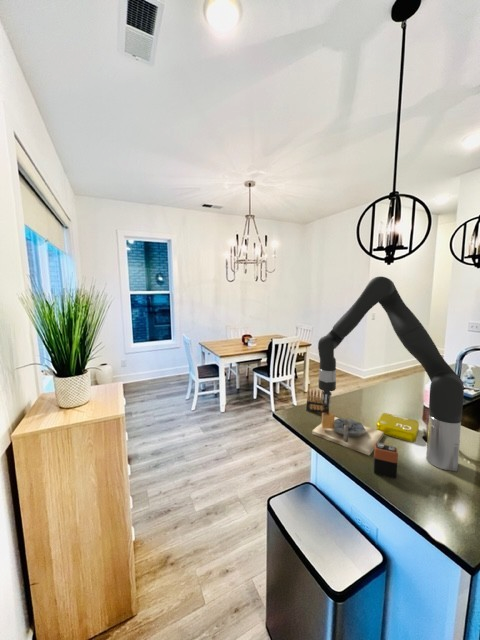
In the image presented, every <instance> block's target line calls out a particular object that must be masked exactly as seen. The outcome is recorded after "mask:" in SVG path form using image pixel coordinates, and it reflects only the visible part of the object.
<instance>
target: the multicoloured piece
mask: <svg viewBox="0 0 480 640" xmlns="http://www.w3.org/2000/svg"><path fill="white" fill-rule="evenodd" d="M334 413H335V412H329V413H321V423H322V428H330V429H333V430H334V431H336V432H339V433H341V434H343V435H344V420H345V419H346V418H340V417H337V418H338V419H336V420H335V417H336V416H335V414H334ZM339 418H340V419H339ZM349 419H350V418H349ZM350 420H351V421H352V428H348V436H360V435H362V434H363V433H365V428H364V427H363V426H364V424H362V423H361V422H358V421H356V420H354V419H350Z"/></svg>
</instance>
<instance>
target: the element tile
mask: <svg viewBox="0 0 480 640" xmlns="http://www.w3.org/2000/svg"><path fill="white" fill-rule="evenodd" d="M378 418H379V419H378V420H377V421H376V430H379V431H382V432H384V435H385V436H389V437H393V438H395V439H399V440H402V441H406V442H411V443H416V441H417V437H418V434H419V426H420V425H419V424H420V423H419V421H418V420H415V419H412V418H407V417H404V416H400V415H396V414H391V413H388V412H387V413H386V412H382V413H381V415H380V417H378Z"/></svg>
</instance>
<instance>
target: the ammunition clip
mask: <svg viewBox="0 0 480 640" xmlns="http://www.w3.org/2000/svg"><path fill="white" fill-rule="evenodd" d="M320 391H321V392H320ZM322 393H323V390H320V389H318V390H316V389H314V390H313V388H311V391H310V388H307V393H306V407H305V408H306V412H312V413H319V414H322V413H324V408H323V403H322V400H323V398H322Z"/></svg>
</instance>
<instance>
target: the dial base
mask: <svg viewBox="0 0 480 640" xmlns="http://www.w3.org/2000/svg"><path fill="white" fill-rule="evenodd" d="M338 418H339V419H341V418H340V417H336V416H335V420H336V419H338ZM344 419H345V420H344V435H343V434H341V433H339V432H336V431H334V430H333V429H330V428H322V422H321V423H320V424H318V425H317V426H316V427H315V428H313V429H312V430H311V434H312V435H314V436H316V437H319V438H322V439H324V440H326V441H329V442H332V443H334V444H338V445H340V446H343V447H345V448H347V449H351V450H353V451H356V452H359V453H362V454H364V455H367V456H368V457H369V456H371V454H372V452H374V447H375V443H377V444H378V443H380V441H381V440H382V439H383V437H384V435H385V434H384V432H382V431H379V430H377V428H373V427H370V426H369V427H368V426H367V425H363V427H364V428H365V433H363V434H362V435H360V436H348V428H352V421H351V420H352V419H351V420H350V418H344Z"/></svg>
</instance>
